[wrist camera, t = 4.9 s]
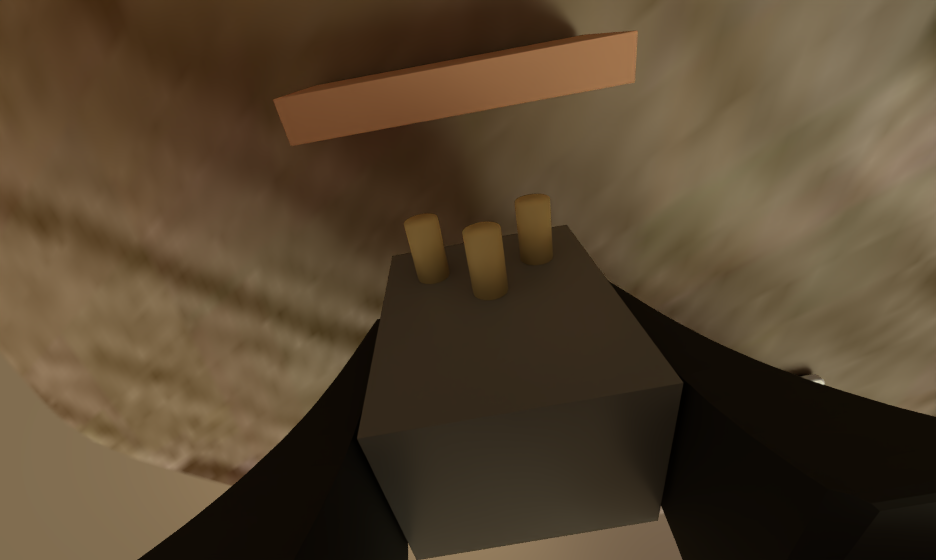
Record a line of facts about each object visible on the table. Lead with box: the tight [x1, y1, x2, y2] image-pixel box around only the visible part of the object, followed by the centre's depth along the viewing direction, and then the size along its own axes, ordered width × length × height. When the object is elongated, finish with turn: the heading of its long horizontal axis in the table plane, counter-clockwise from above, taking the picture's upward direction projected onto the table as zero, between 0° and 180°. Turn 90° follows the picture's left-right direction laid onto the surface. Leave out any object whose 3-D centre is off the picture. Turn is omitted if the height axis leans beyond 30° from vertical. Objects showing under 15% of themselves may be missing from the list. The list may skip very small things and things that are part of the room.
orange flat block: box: [273, 31, 638, 146], centre depth 10 cm, size 1×8×4 cm, turn 99°
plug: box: [357, 194, 683, 560], centre depth 9 cm, size 6×5×6 cm
